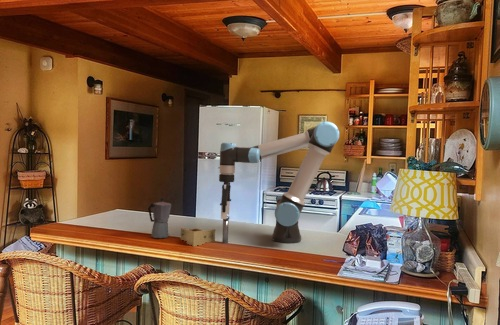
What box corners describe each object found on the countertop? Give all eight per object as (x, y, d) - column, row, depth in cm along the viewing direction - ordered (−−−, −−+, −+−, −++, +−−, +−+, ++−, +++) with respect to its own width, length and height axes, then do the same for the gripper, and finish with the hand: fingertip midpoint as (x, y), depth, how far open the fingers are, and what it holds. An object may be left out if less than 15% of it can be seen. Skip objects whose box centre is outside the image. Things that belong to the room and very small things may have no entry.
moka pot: (176, 235, 212) (177, 198, 211) (155, 241, 199) (156, 201, 198) (163, 233, 217) (163, 196, 216) (141, 238, 204) (142, 199, 203)
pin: (230, 242, 200) (230, 217, 200) (224, 243, 198) (225, 217, 197) (225, 241, 203) (226, 215, 202) (220, 242, 200) (220, 216, 200)
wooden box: (217, 242, 201) (218, 228, 201) (193, 246, 191) (193, 231, 191) (200, 236, 212) (200, 223, 212) (176, 240, 202) (176, 226, 202)
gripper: (222, 171, 212) (220, 211, 212) (216, 175, 187) (214, 220, 188) (236, 172, 211) (234, 212, 212) (232, 176, 186) (230, 221, 187)
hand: (225, 216), depth 200 cm, fingers open, 13 cm apart
